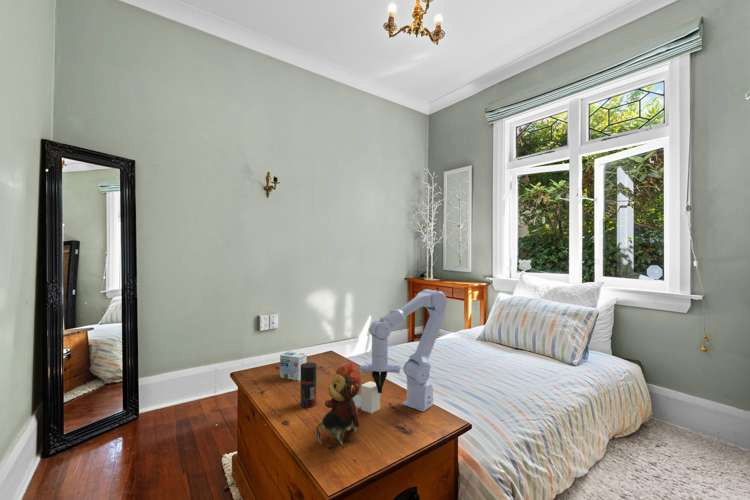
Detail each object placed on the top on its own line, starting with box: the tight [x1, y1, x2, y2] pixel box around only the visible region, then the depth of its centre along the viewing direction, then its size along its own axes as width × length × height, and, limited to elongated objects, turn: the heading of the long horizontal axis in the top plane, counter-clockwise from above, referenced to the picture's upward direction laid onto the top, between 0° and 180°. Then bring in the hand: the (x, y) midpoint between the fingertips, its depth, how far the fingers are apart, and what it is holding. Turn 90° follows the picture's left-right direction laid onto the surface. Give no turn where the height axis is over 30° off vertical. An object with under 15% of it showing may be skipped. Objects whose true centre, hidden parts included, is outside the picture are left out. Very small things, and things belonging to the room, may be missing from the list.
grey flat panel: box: [353, 394, 361, 410], centre depth 133 cm, size 13×11×1 cm
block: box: [360, 380, 381, 414], centre depth 126 cm, size 5×5×9 cm
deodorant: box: [300, 362, 318, 409], centre depth 131 cm, size 6×6×15 cm
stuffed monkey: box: [315, 361, 362, 446], centre depth 105 cm, size 15×17×25 cm
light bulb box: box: [279, 350, 308, 382], centre depth 159 cm, size 11×7×11 cm, turn 68°
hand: (379, 392), depth 124 cm, fingers closed
